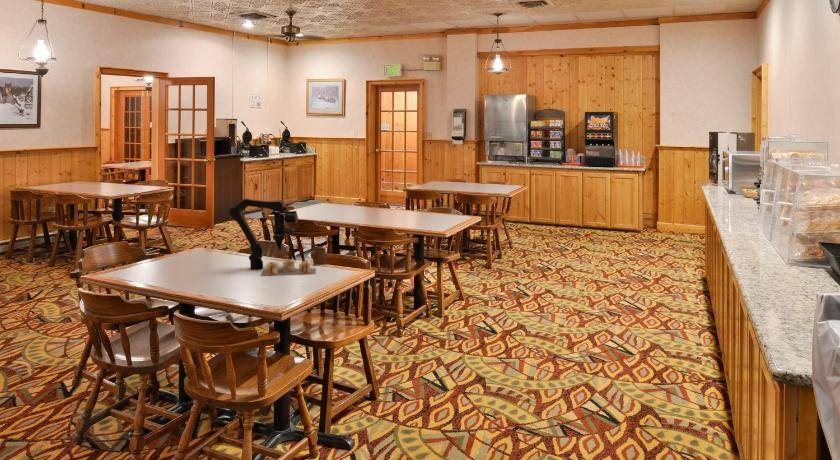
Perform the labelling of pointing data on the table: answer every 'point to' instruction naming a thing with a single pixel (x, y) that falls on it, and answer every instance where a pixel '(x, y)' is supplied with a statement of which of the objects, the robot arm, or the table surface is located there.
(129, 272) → the table surface
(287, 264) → the plain block
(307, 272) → the marked block right
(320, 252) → the mug
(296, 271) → the mat
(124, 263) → the table surface
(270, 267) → the marked block left
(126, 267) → the table surface
